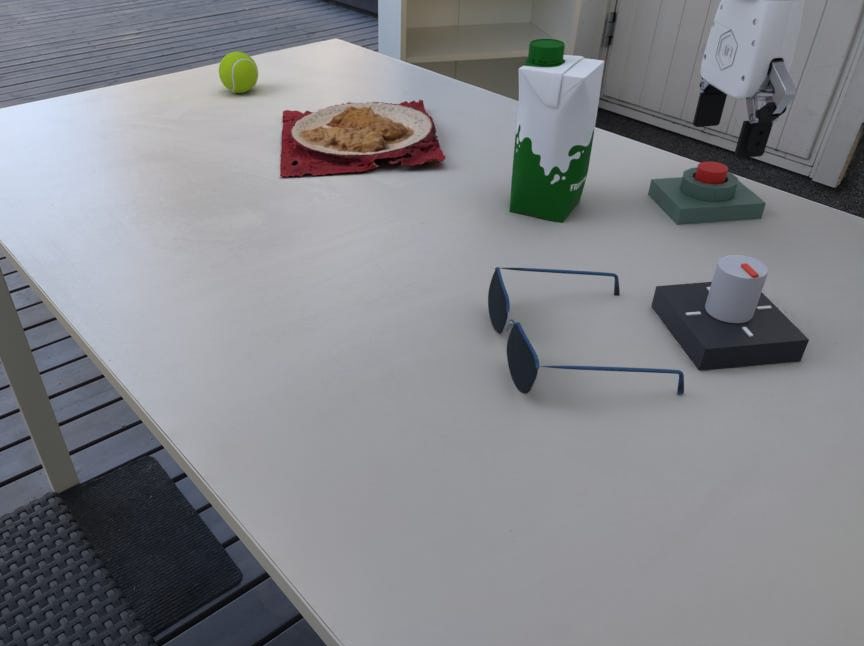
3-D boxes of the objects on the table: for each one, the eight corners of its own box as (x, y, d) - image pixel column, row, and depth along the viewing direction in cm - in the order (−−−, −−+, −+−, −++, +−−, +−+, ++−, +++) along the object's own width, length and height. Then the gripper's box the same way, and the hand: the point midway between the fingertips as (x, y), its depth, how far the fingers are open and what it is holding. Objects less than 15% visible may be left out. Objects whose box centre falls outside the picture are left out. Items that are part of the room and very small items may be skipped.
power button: (716, 173, 95) (719, 160, 94) (730, 185, 92) (733, 171, 91) (689, 175, 95) (692, 162, 94) (702, 186, 92) (706, 173, 91)
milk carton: (525, 187, 101) (541, 31, 89) (589, 201, 98) (615, 40, 86) (499, 212, 95) (513, 49, 83) (567, 228, 92) (592, 60, 80)
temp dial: (696, 300, 74) (709, 253, 70) (738, 296, 74) (753, 249, 71) (718, 325, 70) (733, 277, 67) (762, 321, 71) (779, 273, 67)
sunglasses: (482, 302, 79) (491, 260, 76) (612, 308, 81) (627, 268, 78) (521, 408, 65) (534, 362, 62) (677, 412, 67) (697, 368, 64)
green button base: (726, 189, 100) (734, 160, 98) (761, 219, 93) (770, 189, 90) (647, 194, 99) (653, 165, 97) (676, 225, 92) (684, 195, 90)
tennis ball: (215, 91, 137) (209, 51, 133) (248, 83, 140) (244, 44, 136) (232, 100, 133) (227, 60, 128) (267, 92, 136) (262, 52, 132)
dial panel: (742, 298, 78) (749, 277, 77) (800, 361, 70) (810, 338, 68) (651, 306, 78) (656, 284, 76) (699, 370, 69) (706, 347, 67)
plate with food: (423, 111, 127) (423, 90, 125) (446, 167, 106) (446, 143, 104) (283, 120, 126) (281, 99, 124) (279, 177, 105) (276, 154, 103)
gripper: (695, -37, 82) (662, 117, 93) (784, -4, 69) (733, 172, 79) (758, -39, 83) (719, 113, 94) (858, -7, 70) (799, 167, 80)
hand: (726, 140), depth 86 cm, fingers open, 9 cm apart
